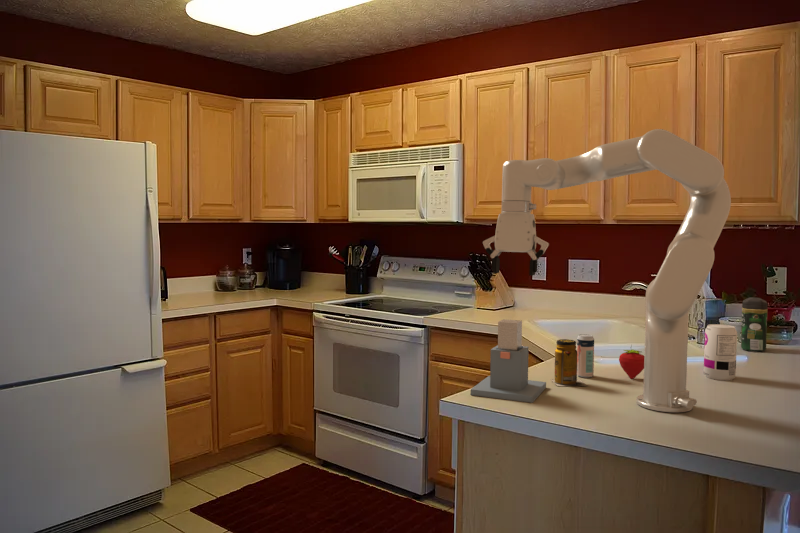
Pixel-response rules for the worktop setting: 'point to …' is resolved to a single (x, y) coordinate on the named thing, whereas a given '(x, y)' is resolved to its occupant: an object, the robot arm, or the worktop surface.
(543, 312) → the worktop surface
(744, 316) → the coffee jar
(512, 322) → the block
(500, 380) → the sleeve
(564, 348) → the condiment
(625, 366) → the strawberry
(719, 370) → the supplement can
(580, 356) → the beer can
